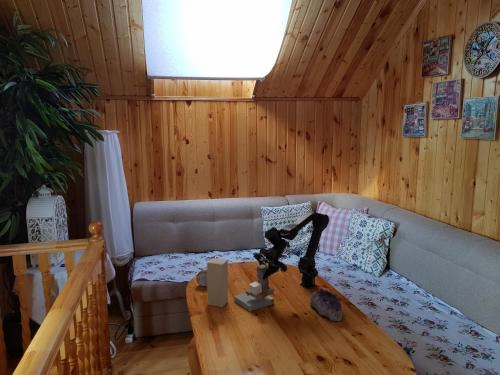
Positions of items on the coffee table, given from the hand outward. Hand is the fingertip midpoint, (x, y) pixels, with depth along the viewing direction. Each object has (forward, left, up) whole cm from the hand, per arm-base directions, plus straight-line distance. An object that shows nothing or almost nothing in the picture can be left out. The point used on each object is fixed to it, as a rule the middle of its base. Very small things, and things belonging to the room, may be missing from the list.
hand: (260, 277), depth 191 cm
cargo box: (+3, +1, -6) cm, 7 cm away
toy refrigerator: (+17, -11, -13) cm, 24 cm away
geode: (-23, +22, -14) cm, 35 cm away
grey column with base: (0, 0, -8) cm, 8 cm away
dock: (+2, -3, -13) cm, 14 cm away
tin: (+12, -31, -14) cm, 36 cm away
